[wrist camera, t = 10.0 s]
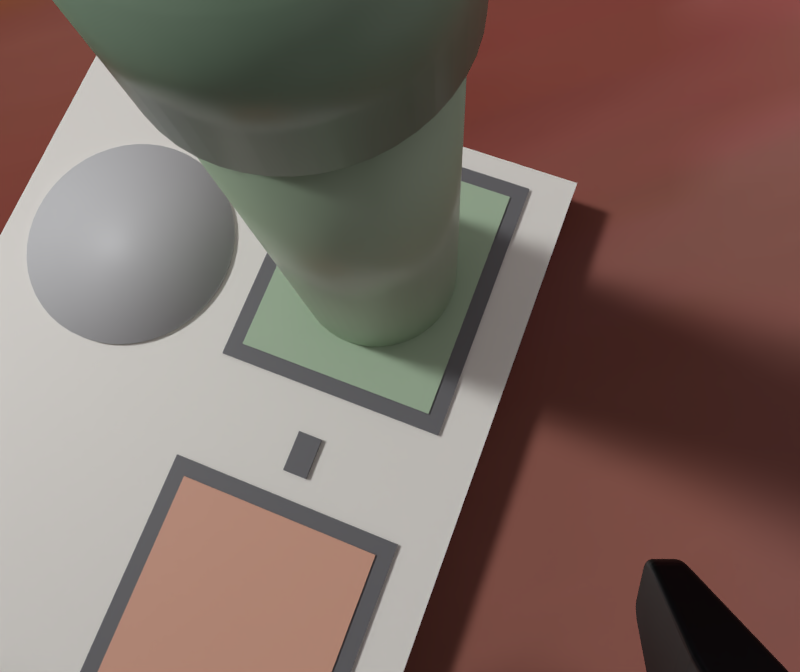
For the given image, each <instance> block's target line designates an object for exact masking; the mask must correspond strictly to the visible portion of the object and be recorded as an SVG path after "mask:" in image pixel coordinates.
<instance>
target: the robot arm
mask: <svg viewBox="0 0 800 672" xmlns="http://www.w3.org/2000/svg"><path fill="white" fill-rule="evenodd" d="M636 617H637V624H638V629H639V634H640V639H641V645H642V650H643V655H644V660H645V666H646V671H647V672H788V671H787V670H786V669H785V667H784V666H783V665H782V664H781V663H780V662H779V661H778V660H777V659H776V658H775V657H774V656H773V655H772V654H771V653H770V652H769V651H768V650H767V649H766V648H765V646H764V645H763V644H762V643H761V642H760V641H759V640H758V639H757V638H756V637H755V636H754V635H753V634H752V633H751V632H750V631H749V630H748V629H747V628H746V627H745V625H744V624H743V623H742V622H741V621H740V620H739V619H738V618H737V617H736V616H735V615H734V614H733V613H732V612H731V611H730V610H729V609H728V608H727V607H726V605H725V604H724V603H723V602H722V601H721V600H720V599H719V598H718V597H717V596H716V595H715V594H714V593H713V592H712V591H711V590H710V589H709V588H708V587H707V586H706V584H705V583H704V582H703V581H702V580H701V579H700V578H699V577H698V576H697V575H696V574H695V573H694V572H693V571H692V570H691V569H690V568H689V567H688V566H687V565H686V564H685V563H684V562H682V561H680V560H677V559H651V560H648V561H647V562H646V563H645V566H644V569H643V573H642V578H641V582H640V587H639V591H638V596H637V600H636Z"/></svg>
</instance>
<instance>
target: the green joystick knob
mask: <svg viewBox="0 0 800 672" xmlns="http://www.w3.org/2000/svg"><path fill="white" fill-rule="evenodd" d="M53 1H54V3H55V4H56V5H57V7H58V8H59V9H60V10H61V12H62V13H63V14H64V15H65V17H66V18H67V19H68V20H69V22H70V23H71V24H72V25H73V27H74V28H75V29H76V30H77V32H78V33H79V34H80V35H81V37H82V38H83V39H84V40H85V42H86V43H87V44H88V45H89V47H90V48H91V49H92V51H93V52H94V53H95V54H96V56H97V57H98V58H99V59H100V61H101V62H102V63H103V64H104V66H105V67H106V68H107V69H108V71H109V72H110V73H111V74H112V76H113V77H114V78H115V79H116V81H117V82H118V83H119V84H120V86H121V87H122V88H123V89H124V91H125V92H126V93H127V95H128V96H129V97H130V98H131V100H132V101H133V102H134V103H135V105H136V106H137V107H138V108H139V110H140V111H141V112H142V113H143V115H144V116H145V117H146V118H147V119H148V120H149V121H150V122H151V123H152V124H153V125H154V126H155V128H156V129H157V130H158V131H159V132H161V133H162V134H163V135H164V136H166V137H167V138H168V139H169V140H171V141H172V142H173V143H174V144H176V145H177V146H179V147H180V148H182V149H184V150H185V151H187V152H189V153H191V154H192V155H194V156H196V157H197V158H198V159H199V161H200V162H201V163H202V165H203V166H204V168H205V169H206V170H207V172H208V173H209V174H210V176H211V177H212V178H213V180H214V181H215V182H216V184H217V185H218V186H219V188H220V189H221V191H222V192H223V193H224V195H225V196H226V197H227V199H228V200H229V201H230V203H231V204H232V205H233V207H234V208H235V210H236V211H237V212H238V214H239V215H240V216H241V218H242V219H243V220H244V222H245V223H246V224H247V226H248V227H249V229H250V230H251V231H252V233H253V234H254V235H255V237H256V238H257V239H258V241H259V242H260V243H261V245H262V246H263V248H264V249H265V250H266V252H267V253H268V254H269V256H270V257H271V258H272V260H273V261H274V262H275V264H276V265H277V267H278V268H279V269H280V271H281V272H282V273H283V275H284V276H285V277H286V279H287V280H288V281H289V283H290V284H291V285H292V287H293V288H294V290H295V291H296V292H297V294H298V295H299V296H300V298H301V299H302V300H303V302H304V303H305V304H306V306H307V307H308V309H309V310H310V311H311V313H312V314H313V315H314V317H315V318H316V319H317V320H318V321H319V323H320V324H321V325H322V326H323V327H325V328H326V329H327V330H328V331H329V332H331V333H332V334H334V335H335V336H337V337H339V338H341V339H343V340H345V341H347V342H350V343H354V344H357V345H362V346H368V347H383V346H391V345H395V344H400V343H402V342H405V341H408V340H410V339H412V338H414V337H416V336H418V335H420V334H421V333H423V332H424V331H425V330H427V329H428V328H429V327H430V326H431V325H433V324H434V323H435V322H436V321H437V319H438V318H439V317H440V316H441V315H442V313H443V312H444V310H445V309H446V307H447V306H448V303H449V301H450V299H451V297H452V294H453V291H454V288H455V283H456V276H457V256H458V236H459V215H460V195H461V175H462V154H463V134H464V114H465V94H466V76H467V74H468V72H469V70H470V68H471V66H472V64H473V62H474V60H475V58H476V56H477V53H478V49H479V46H480V43H481V40H482V37H483V34H484V28H485V22H486V16H487V9H488V0H53Z"/></svg>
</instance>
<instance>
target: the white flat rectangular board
mask: <svg viewBox="0 0 800 672" xmlns="http://www.w3.org/2000/svg"><path fill="white" fill-rule="evenodd" d="M576 185H577V183H575V182H572V181H569V180H565V179H562V178H559V177H556V176H553V175H550V174H547V173H544V172H540V171H537V170H534V169H531V168H528V167H525V166H522V165H518V164H515V163H512V162H509V161H506V160H503V159H500V158H496V157H493V156H490V155H487V154H484V153H481V152H478V151H474V150H471V149H468V148H465V147H463V154H462V175H461V195H460V215H459V236H458V256H457V276H456V283H455V288H454V291H453V294H452V297H451V299H450V301H449V303H448V306H447V307H446V309H445V310H444V312H443V313H442V315H441V316H440V317H439V318H438V319H437V321H436V322H435V323H434V324H433V325H431V326H430V327H429V328H428V329H427V330H425V331H424V332H423V333H421V334H420V335H418V336H416V337H414V338H412V339H410V340H408V341H405V342H402V343H400V344H395V345H391V346H383V347H368V346H362V345H357V344H354V343H350V342H347V341H345V340H343V339H341V338H339V337H337V336H335V335H334V334H332V333H331V332H329V331H328V330H327V329H326V328H325V327H323V326H322V325H321V324H320V323H319V321H318V320H317V319H316V318H315V317H314V315H313V314H312V313H311V311H310V310H309V309H308V307H307V306H306V304H305V303H304V302H303V300H302V299H301V298H300V296H299V295H298V294H297V292H296V291H295V290H294V288H293V287H292V285H291V284H290V283H289V281H288V280H287V279H286V277H285V276H284V275H283V273H282V272H281V271H280V269H279V268H278V267H277V265H276V264H275V262H274V261H273V260H272V258H271V257H270V256H269V254H268V253H267V252H266V250H265V249H264V248H263V246H262V245H261V243H260V242H259V241H258V239H257V238H256V237H255V235H254V234H253V233H252V231H251V230H250V229H249V227H248V226H247V224H246V223H245V222H244V220H243V219H242V218H241V216H240V215H239V214H238V212H237V211H236V210H235V208H234V207H233V205H232V204H231V203H230V201H229V200H228V199H227V197H226V196H225V195H224V193H223V192H222V191H221V189H220V188H219V186H218V185H217V184H216V182H215V181H214V180H213V178H212V177H211V176H210V174H209V173H208V172H207V170H206V169H205V168H204V166H203V165H202V163H201V162H200V161H199V159H198V158H197V157H196V156H194V155H192V154H191V153H189V152H187V151H185V150H184V149H182V148H180V147H179V146H177V145H176V144H174V143H173V142H172V141H171V140H169V139H168V138H167V137H166V136H164V135H163V134H162V133H161V132H159V131H158V130H157V129H156V128H155V126H154V125H153V124H152V123H151V122H150V121H149V120H148V119H147V118H146V117H145V116H144V115H143V113H142V112H141V111H140V110H139V108H138V107H137V106H136V105H135V103H134V102H133V101H132V100H131V98H130V97H129V96H128V95H127V93H126V92H125V91H124V89H123V88H122V87H121V86H120V84H119V83H118V82H117V81H116V79H115V78H114V77H113V76H112V74H111V73H110V72H109V71H108V69H107V68H106V67H105V66H104V64H103V63H102V62H101V61H100V59H99V58H98V57H97V56H96V57H95V59H94V61H93V63H92V65H91V67H90V68H89V70H88V72H87V74H86V76H85V78H84V80H83V82H82V83H81V85H80V87H79V89H78V91H77V93H76V95H75V97H74V98H73V100H72V102H71V104H70V106H69V108H68V110H67V112H66V113H65V115H64V117H63V119H62V121H61V123H60V125H59V127H58V128H57V130H56V132H55V134H54V136H53V138H52V140H51V141H50V143H49V145H48V147H47V149H46V151H45V153H44V155H43V156H42V158H41V160H40V162H39V164H38V166H37V168H36V170H35V171H34V173H33V175H32V177H31V179H30V181H29V183H28V185H27V186H26V188H25V190H24V192H23V194H22V196H21V198H20V200H19V201H18V203H17V205H16V207H15V209H14V211H13V213H12V214H11V216H10V218H9V220H8V222H7V224H6V226H5V228H4V229H3V231H2V233H1V235H0V672H403V671H404V669H405V666H406V663H407V660H408V657H409V655H410V652H411V649H412V646H413V643H414V640H415V638H416V635H417V632H418V629H419V626H420V624H421V621H422V618H423V615H424V612H425V610H426V607H427V604H428V601H429V598H430V595H431V593H432V590H433V587H434V584H435V581H436V579H437V576H438V573H439V570H440V567H441V565H442V562H443V559H444V556H445V553H446V550H447V548H448V545H449V542H450V539H451V536H452V534H453V531H454V528H455V525H456V522H457V520H458V517H459V514H460V511H461V508H462V505H463V503H464V500H465V497H466V494H467V491H468V489H469V486H470V483H471V480H472V477H473V474H474V472H475V469H476V466H477V463H478V460H479V458H480V455H481V452H482V449H483V446H484V444H485V441H486V438H487V435H488V432H489V429H490V427H491V424H492V421H493V418H494V415H495V413H496V410H497V407H498V404H499V401H500V399H501V396H502V393H503V390H504V387H505V384H506V382H507V379H508V376H509V373H510V370H511V368H512V365H513V362H514V359H515V356H516V354H517V351H518V348H519V345H520V342H521V339H522V337H523V334H524V331H525V328H526V325H527V323H528V320H529V317H530V314H531V311H532V309H533V306H534V303H535V300H536V297H537V294H538V292H539V289H540V286H541V283H542V280H543V278H544V275H545V272H546V269H547V266H548V264H549V261H550V258H551V255H552V252H553V249H554V247H555V244H556V241H557V238H558V235H559V233H560V230H561V227H562V224H563V221H564V219H565V216H566V213H567V210H568V207H569V204H570V202H571V199H572V196H573V193H574V190H575V188H576Z"/></svg>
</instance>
